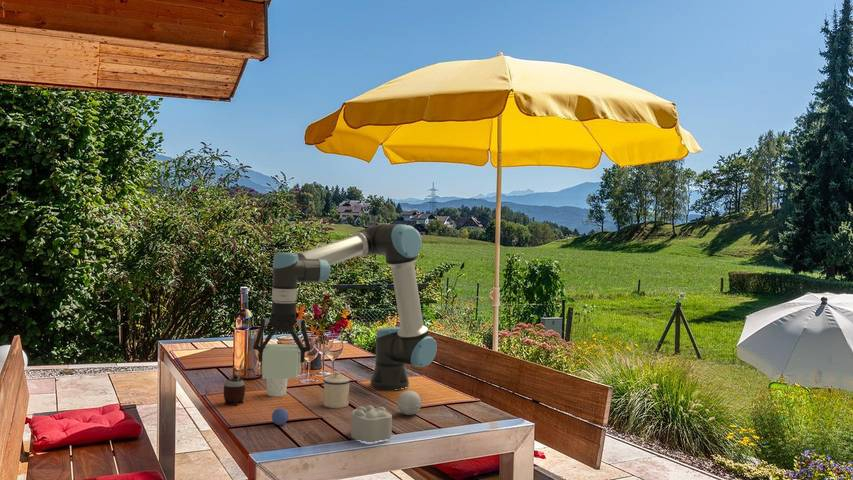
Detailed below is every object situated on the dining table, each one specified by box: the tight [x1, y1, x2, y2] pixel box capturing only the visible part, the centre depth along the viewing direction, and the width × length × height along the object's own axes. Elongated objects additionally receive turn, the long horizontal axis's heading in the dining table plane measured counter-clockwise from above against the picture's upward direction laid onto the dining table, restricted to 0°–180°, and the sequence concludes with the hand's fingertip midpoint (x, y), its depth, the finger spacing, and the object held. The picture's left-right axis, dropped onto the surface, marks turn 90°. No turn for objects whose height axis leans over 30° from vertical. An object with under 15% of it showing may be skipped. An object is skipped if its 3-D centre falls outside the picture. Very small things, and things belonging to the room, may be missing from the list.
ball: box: [271, 407, 289, 426], centre depth 204 cm, size 5×5×5 cm
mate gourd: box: [223, 356, 246, 407], centre depth 227 cm, size 8×8×15 cm
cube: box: [261, 343, 300, 380], centre depth 207 cm, size 10×10×9 cm
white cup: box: [266, 378, 289, 397], centre depth 240 cm, size 8×8×10 cm
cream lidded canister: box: [323, 370, 351, 409], centre depth 230 cm, size 12×9×12 cm
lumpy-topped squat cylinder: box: [350, 404, 393, 442], centre depth 196 cm, size 10×13×9 cm
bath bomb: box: [397, 390, 422, 416], centre depth 220 cm, size 8×8×8 cm
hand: (281, 372), depth 207 cm, fingers closed on cube, 10 cm apart
